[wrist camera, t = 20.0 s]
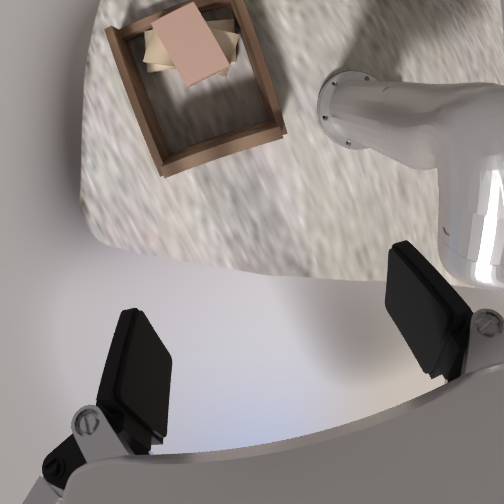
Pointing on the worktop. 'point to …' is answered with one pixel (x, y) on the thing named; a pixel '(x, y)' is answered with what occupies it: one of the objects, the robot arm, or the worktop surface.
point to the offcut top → (190, 44)
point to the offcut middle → (161, 57)
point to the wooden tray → (214, 146)
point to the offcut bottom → (217, 24)
